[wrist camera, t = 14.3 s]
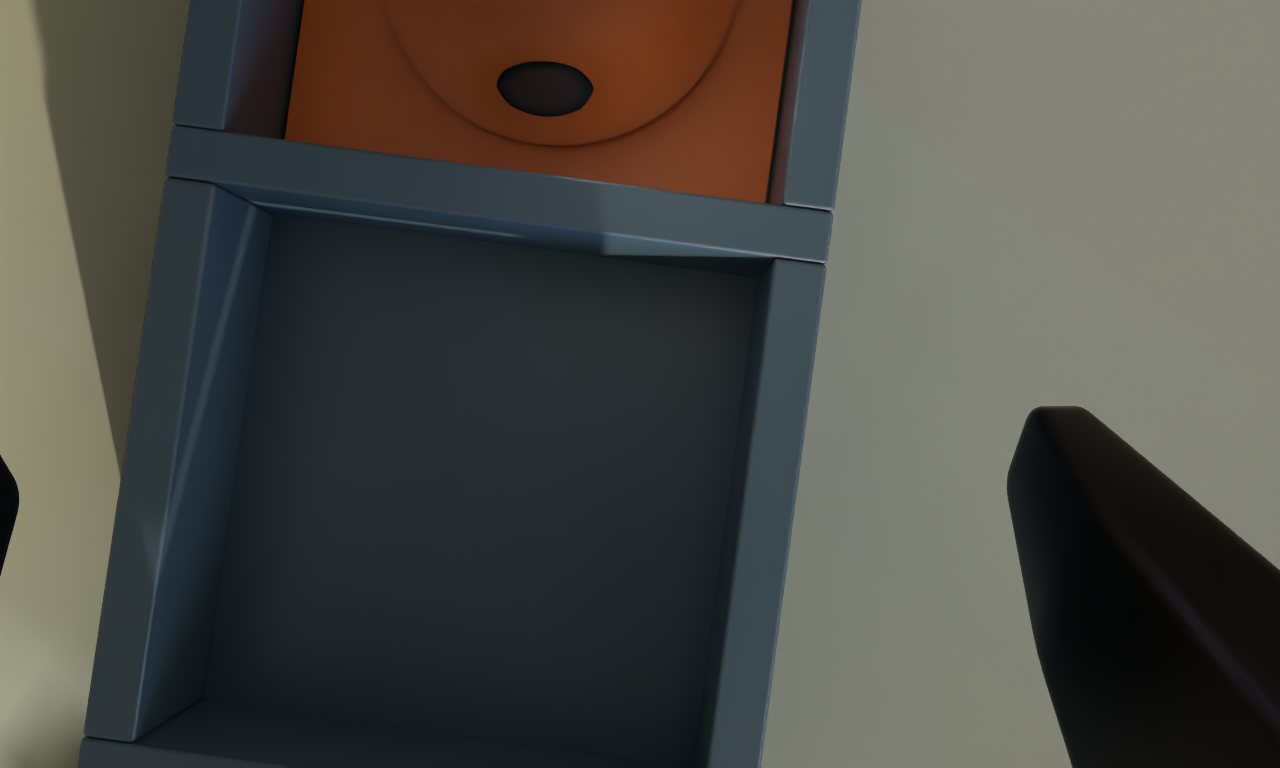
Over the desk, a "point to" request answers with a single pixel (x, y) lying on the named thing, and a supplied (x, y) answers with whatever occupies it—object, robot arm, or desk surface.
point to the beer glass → (560, 60)
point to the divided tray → (465, 410)
